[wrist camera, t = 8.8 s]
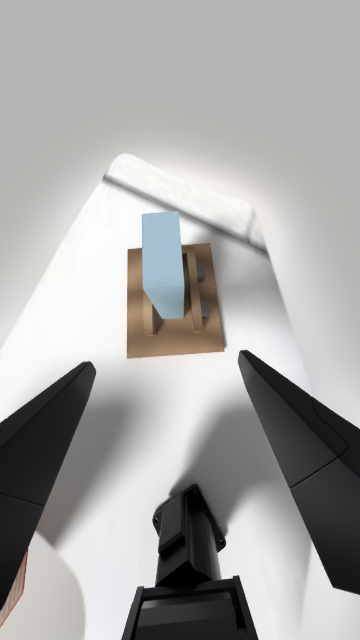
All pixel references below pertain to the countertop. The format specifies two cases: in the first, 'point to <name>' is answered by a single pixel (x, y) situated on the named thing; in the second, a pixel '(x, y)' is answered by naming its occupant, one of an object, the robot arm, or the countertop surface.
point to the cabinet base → (180, 333)
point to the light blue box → (163, 263)
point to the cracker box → (14, 591)
